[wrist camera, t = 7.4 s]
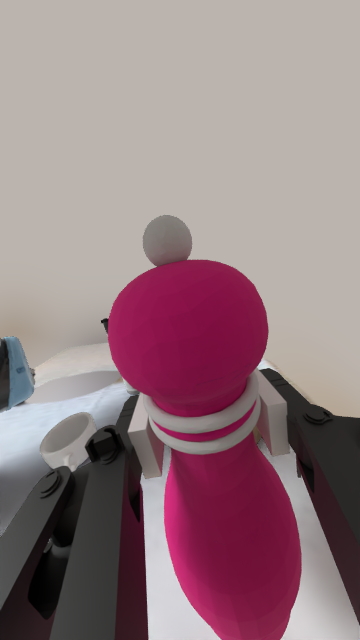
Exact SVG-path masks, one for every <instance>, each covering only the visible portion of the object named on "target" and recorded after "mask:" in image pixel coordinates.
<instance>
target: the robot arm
mask: <svg viewBox="0 0 360 640" xmlns="http://www.w3.org/2000/svg"><path fill="white" fill-rule="evenodd" d="M254 372H255V373H256V375H257V378H258V382H259V390H258V393H259V396H260V401H261V409H260V416H259V418H258V421H257V424H256V426H257V428H258V430H259V432H260V434H261V436H262V438H263V440H264V441H265V443H266V445H267V447H268V449H269V451H270V453H271V455H272V456H277V455H283V454H288V453H290V450H289V444H290V446H291V447H292V449H293V450H294V452H295V453H296V463H297V474H298V477H300V478H301V475H302V477H303V480H304V482H305V485H306V488H307V490H308V493H309V495H310V498H311V501H312V503H313V506H314V508H315V511H316V513H317V516H318V519H319V521H320V524H321V526H322V529H323V532H324V534H325V537H326V539H327V542H328V544H329V547H330V550H331V552H332V555H333V557H334V560H335V563H336V565H337V568H338V570H339V573H340V575H341V578H342V581H343V583H344V586H345V588H346V591H347V594H348V596H349V599H350V601H351V604H352V606H353V609H354V612H355V614H356V617H357V619H358V622H359V625H360V418H353V417H342V416H335V415H333V414H332V413H331V412H329V411H328V410H326V409H324V408H323V407H320V406H317V405H313V404H310V403H309V402H308V401H307V400H306V399H305V398H304V397H303V396H302V395H301V394H300V393H299V392H298V391H297V390H296V389H295V388H294V387H293V386H291V385H290V384H289V383H288V382H287V381H286V380H285V379H284V378H283V377H282V376H281V375H280V374H279V373H278V372H276V371H274V370H272V369H270V368H267V369H262V370H258V369H257V367H256V368H255V370H254ZM33 392H34V384H33V379H32V375H31V372H30V369H29V365H28V362H27V359H26V356H25V353H24V350H23V348H22V345H21V343H20V341H19V339H18V338H17V337H14V336H12V337H4V338H3V339H0V413H1V412H4V411H7V410H9V409H11V408H12V407H13V406H15V405H17V404H19V403H21V402H23V401H25V400H26V399H28V398H29V397H30V396H31V395H32V394H33ZM85 449H86V451H87V453H88V456H89V458H90V460H91V462H90V463H89V464H87V465H85V466H83V467H81V468H79V469H77V470H75V471H73V472H72V471H71V470H70V468H69V467H68V466H60V467H57V468H55V469H53V470H52V471H50V472H49V473H47V474H46V475H45V476H44V477H43V478H42V479H41V480H40V481H39V482H38V483H37V485H36V486H35V487H34V488H33V490H32V491H31V493H30V494H29V496H28V497H27V499H26V500H25V502H24V503H23V505H22V506H21V508H20V509H19V511H18V512H17V514H16V515H15V517H14V518H13V520H12V521H11V523H10V524H9V526H8V527H7V529H6V530H5V532H4V533H3V535H2V536H1V538H0V640H148V616H147V590H146V565H145V540H144V514H143V491H142V487H141V484H140V480H141V474H142V472H143V474H144V477H145V479H148V478H154V477H159V476H162V465H163V452H164V443H163V442H162V441H161V440H160V439H159V438H158V437H157V436H156V434H155V433H154V431H153V430H152V428H151V425H150V422H149V416H148V413H147V412H146V409H145V407H144V403H143V393H141V392H140V395H135V396H130V398H129V399H128V400H127V401H126V402H125V404H124V406H123V409H122V412H121V414H120V416H119V419H118V421H117V423H116V426H114V425H109V426H105V427H103V428H101V429H99V430H98V431H97V432H95V433H94V434H93V435H92V436H91V437H90V438H89V440H88V441H87V443H86V445H85ZM49 539H50V540H49ZM48 541H49V542H48Z"/></svg>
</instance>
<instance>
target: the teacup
mask: <svg viewBox="0 0 360 640" xmlns="http://www.w3.org/2000/svg"><path fill="white" fill-rule="evenodd" d="M95 432H97V430H96V426H95V423H94V420H93V418H92V416H91V415H90V414H89V413H86V412H81V413H77V414H74V415H71V416H69V417H67V418H66V419H64V420H62V421H61V422H60V423H58V424H57V425H56V426H55V427H53V428H52V429H51V430H50V431H49V432H48V434H47V435H46V436H45V437H44V439H43V441H42V443H41V445H40V453H41V456H42V457H43V459H44V460H45V461H46V463H47V464H48V465H49V466H50V467H51V468H52V469H55V468H57V467H60V466H68V467H69V468H70V470H71V471H72V472H73V471H75V470H76V468H77V466H79V465H80V464H82V463H83V462H84V461H85V460H86V459H87V458H88V457H89V456H88V453H87V451H86V449H85V445H86V443H87V441H88V440H89V438H90V437H91V436H92V435H93V434H94V433H95Z"/></svg>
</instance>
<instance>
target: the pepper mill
mask: <svg viewBox="0 0 360 640" xmlns="http://www.w3.org/2000/svg"><path fill="white" fill-rule="evenodd" d="M143 248H144V251H145V254H146V256H147V257H148V259H149V260H150V261H151V262H152V263H153V264H154V265H155V266H157V267H156V268H153V269H151V270H148V271H147V272H145V273H143V274H141V275H139V276H138V277H137V278H135V279H134V280H133V281H131V282H130V283H129V284H128V285H127V286H126V287H125V288H124V289H123V290H122V291H121V292H120V293H119V295H118V297H117V299H116V300H115V302H114V303H113V306H112V310H111V313H110V316H109V321H108V341H109V346H110V351H111V355H112V359H113V361H114V363H115V365H116V367H117V369H118V370H119V372H120V374H121V375H122V377H123V378H124V379H125V380H126V381H127V382H128V383H129V384H130V385H131V386H132V387H133V388H134V389H136V390H138V391H139V392H141V393H143V403H144V407H145V409H146V412H147V413H148V416H149V422H150V425H151V428H152V430H153V431H154V433H155V434H156V436H157V437H158V438H159V439H160V440H161V441H162V442H163V443H164V444H166V445H167V446H169V447H171V464H170V469H169V473H168V477H167V482H166V487H165V498H164V524H165V532H166V538H167V543H168V548H169V552H170V557H171V560H172V564H173V567H174V571H175V574H176V576H177V578H178V581H179V583H180V585H181V588H182V590H183V592H184V593H185V595H186V597H187V598H188V600H189V602H190V603H191V605H192V606H193V608H194V609H195V610H196V611H197V613H198V614H199V615H200V616H201V617H202V618H203V619H204V620H205V621H206V622H207V623H208V624H209V625H210V626H211V628H212V629H213V630H214V632H215V633H216V634H217V635H218V636H219V637H220V638H221V639H222V640H280V639H281V638H282V636H283V634H284V632H285V630H286V628H287V625H288V622H289V618H290V613H291V609H292V608H293V606H294V603H295V600H296V597H297V594H298V590H299V585H300V578H301V547H300V539H299V533H298V527H297V522H296V518H295V515H294V511H293V508H292V505H291V502H290V498H289V496H288V494H287V492H286V490H285V488H284V486H283V484H282V482H281V480H280V478H279V476H278V474H277V472H276V471H275V469H274V468H273V466H272V465H271V464H270V462H269V461H268V460H267V459H266V457H265V456H264V455H263V454H262V452H261V451H260V450H259V449H258V447H257V444H256V442H255V438H254V434H253V428H254V427H255V425H256V424H257V421H258V418H259V416H260V409H261V401H260V396H259V393H258V390H259V382H258V378H257V375H256V373H255V372H254V370H255V368H256V367H257V366H258V364H259V363H260V362H261V359H262V357H263V354H264V352H265V349H266V345H267V339H268V323H267V315H266V310H265V307H264V305H263V302H262V299H261V297H260V296H259V294H258V292H257V290H256V288H255V286H254V284H253V283H252V282H251V281H250V280H249V279H248V278H247V277H246V276H244V275H243V274H242V273H241V272H239V271H238V270H236V269H235V268H233V267H231V266H228V265H226V264H223V263H220V262H215V261H210V260H187V258H188V256H189V255H190V252H191V249H192V237H191V234H190V231H189V229H188V228H187V226H186V225H185V223H183V221H181V220H180V219H179V218H177V217H174V216H170V215H163V216H159V217H157V218H156V219H154V220H152V221H151V222H150V223H149V224H148V226H147V228H146V230H145V232H144V235H143Z"/></svg>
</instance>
